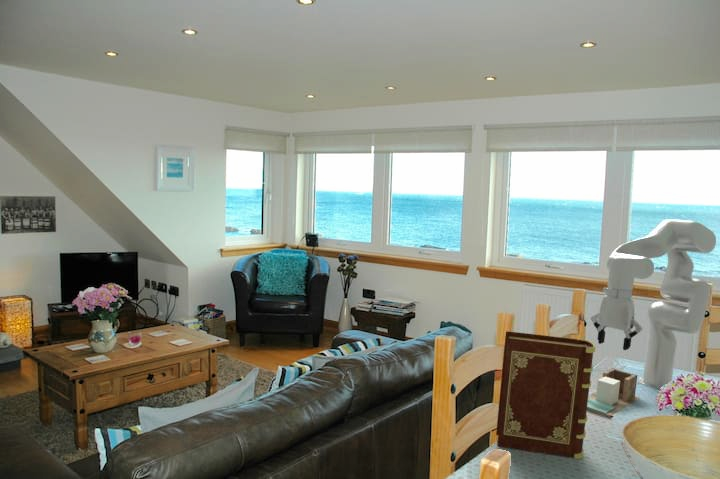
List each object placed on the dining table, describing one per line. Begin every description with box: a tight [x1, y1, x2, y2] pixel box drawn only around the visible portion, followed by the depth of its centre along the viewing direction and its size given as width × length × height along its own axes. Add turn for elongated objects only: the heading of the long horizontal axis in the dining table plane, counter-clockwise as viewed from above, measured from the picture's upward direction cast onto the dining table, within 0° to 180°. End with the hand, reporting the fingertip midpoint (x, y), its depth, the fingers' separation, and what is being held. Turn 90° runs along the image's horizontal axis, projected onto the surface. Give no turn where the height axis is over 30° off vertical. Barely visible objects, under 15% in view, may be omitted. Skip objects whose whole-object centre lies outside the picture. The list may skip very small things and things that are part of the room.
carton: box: [596, 376, 620, 405], centre depth 184 cm, size 6×5×7 cm
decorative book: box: [495, 331, 596, 460], centre depth 148 cm, size 22×8×30 cm, turn 78°
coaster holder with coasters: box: [587, 367, 641, 419], centre depth 184 cm, size 25×12×8 cm, turn 134°
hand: (613, 345), depth 182 cm, fingers open, 7 cm apart
